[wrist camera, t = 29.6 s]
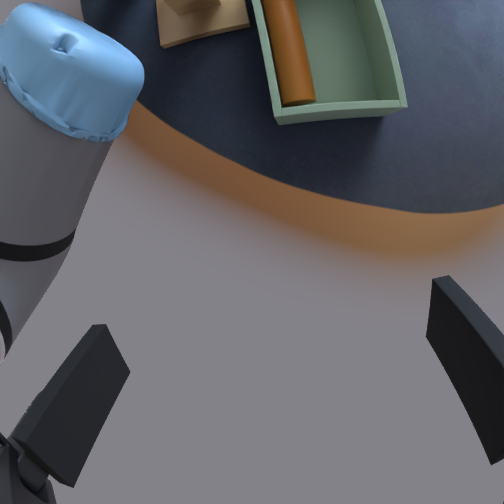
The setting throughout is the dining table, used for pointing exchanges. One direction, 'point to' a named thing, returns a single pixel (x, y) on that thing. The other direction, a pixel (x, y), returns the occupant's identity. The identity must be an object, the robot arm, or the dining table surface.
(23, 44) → the robot arm
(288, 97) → the orange brown cylinder
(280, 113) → the bin
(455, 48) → the dining table surface
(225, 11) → the stand
